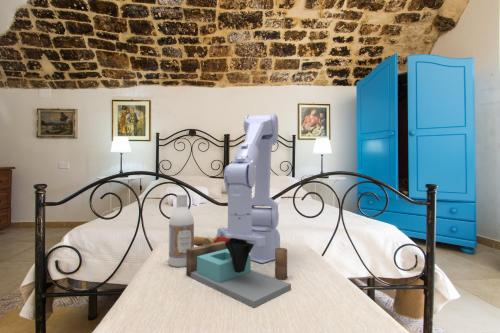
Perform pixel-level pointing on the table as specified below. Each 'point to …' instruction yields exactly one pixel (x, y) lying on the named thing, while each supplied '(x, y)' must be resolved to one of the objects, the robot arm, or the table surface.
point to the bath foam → (180, 232)
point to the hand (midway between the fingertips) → (239, 271)
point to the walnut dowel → (281, 263)
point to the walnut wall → (201, 250)
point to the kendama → (209, 240)
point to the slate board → (247, 287)
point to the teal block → (219, 266)
